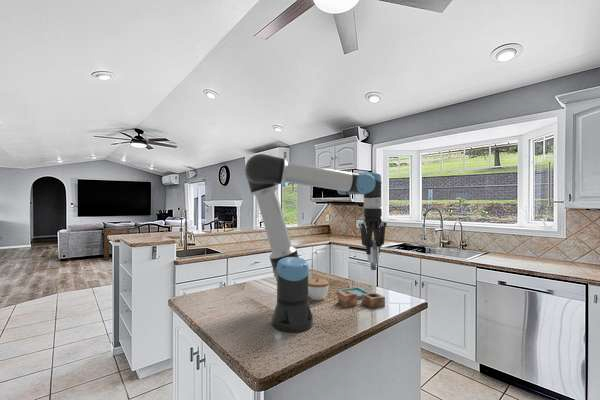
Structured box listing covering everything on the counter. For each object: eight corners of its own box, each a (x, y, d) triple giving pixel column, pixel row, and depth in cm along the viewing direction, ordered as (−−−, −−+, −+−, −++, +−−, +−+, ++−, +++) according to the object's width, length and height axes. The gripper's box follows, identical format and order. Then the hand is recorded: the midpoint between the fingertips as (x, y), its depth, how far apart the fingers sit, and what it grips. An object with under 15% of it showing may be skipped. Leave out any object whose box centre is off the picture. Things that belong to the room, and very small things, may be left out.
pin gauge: (372, 270, 125) (372, 240, 125) (369, 269, 127) (368, 239, 127) (377, 269, 126) (377, 239, 126) (374, 268, 128) (373, 239, 128)
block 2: (371, 308, 123) (371, 298, 123) (361, 303, 129) (361, 294, 129) (384, 306, 125) (384, 296, 125) (374, 301, 132) (374, 292, 132)
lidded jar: (328, 294, 140) (328, 275, 140) (328, 302, 130) (328, 281, 130) (306, 294, 141) (306, 274, 141) (304, 301, 131) (304, 280, 131)
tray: (350, 300, 133) (350, 296, 133) (337, 292, 144) (337, 289, 144) (372, 297, 137) (372, 293, 137) (358, 289, 148) (358, 286, 148)
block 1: (345, 307, 124) (345, 295, 124) (338, 302, 130) (338, 291, 130) (357, 305, 126) (357, 293, 126) (349, 301, 132) (349, 290, 132)
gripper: (362, 208, 120) (363, 264, 120) (392, 207, 126) (393, 261, 126) (352, 208, 127) (353, 261, 127) (381, 207, 133) (382, 258, 133)
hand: (373, 261), depth 127 cm, fingers closed on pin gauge, 2 cm apart
